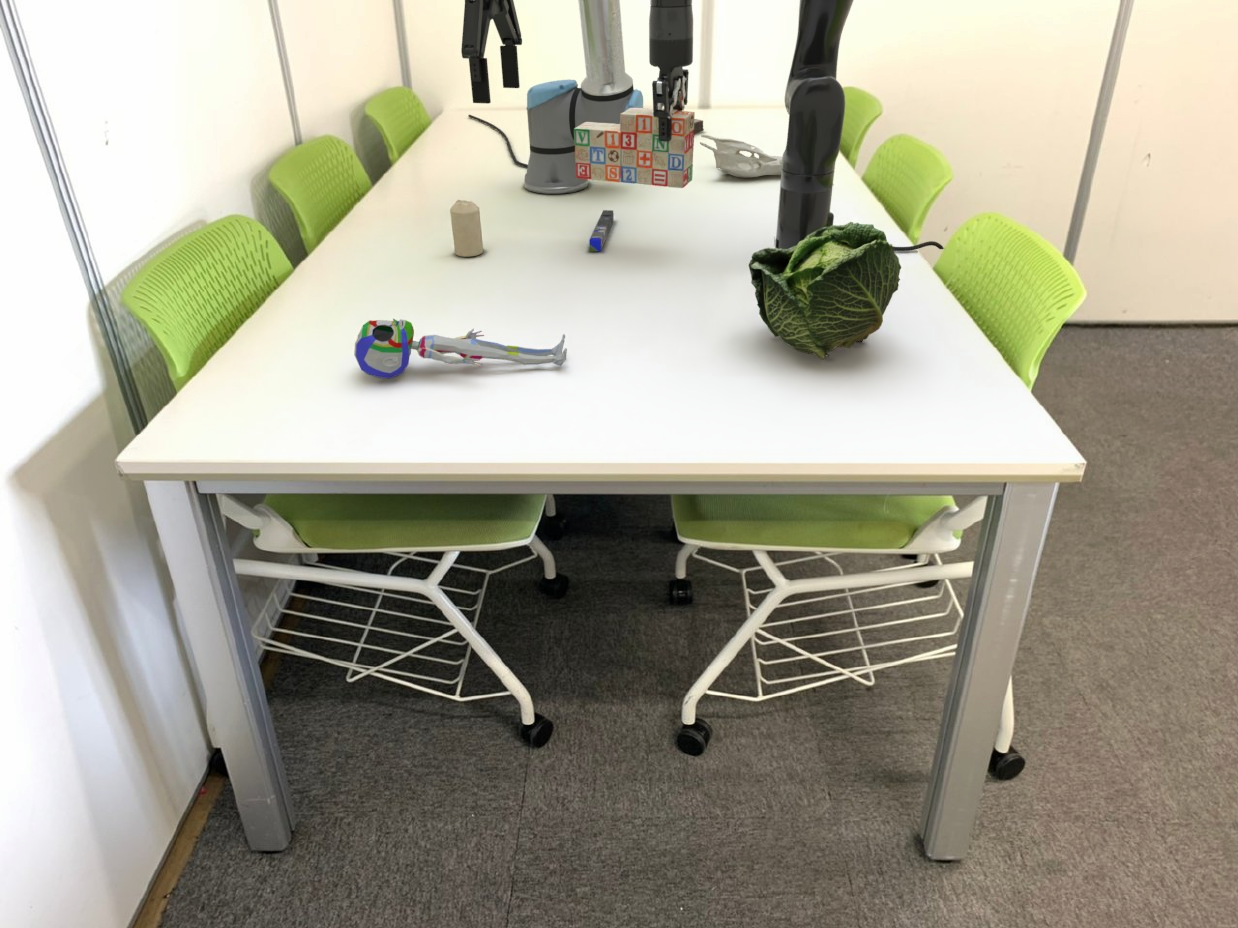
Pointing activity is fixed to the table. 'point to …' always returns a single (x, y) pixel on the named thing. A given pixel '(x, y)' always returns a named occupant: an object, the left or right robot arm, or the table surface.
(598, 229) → the blue-tipped grey rod
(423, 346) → the toy
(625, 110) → the left robot arm
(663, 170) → the stack of blocks
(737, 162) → the anatomical model
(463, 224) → the candle
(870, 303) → the vegetable
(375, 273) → the table surface
